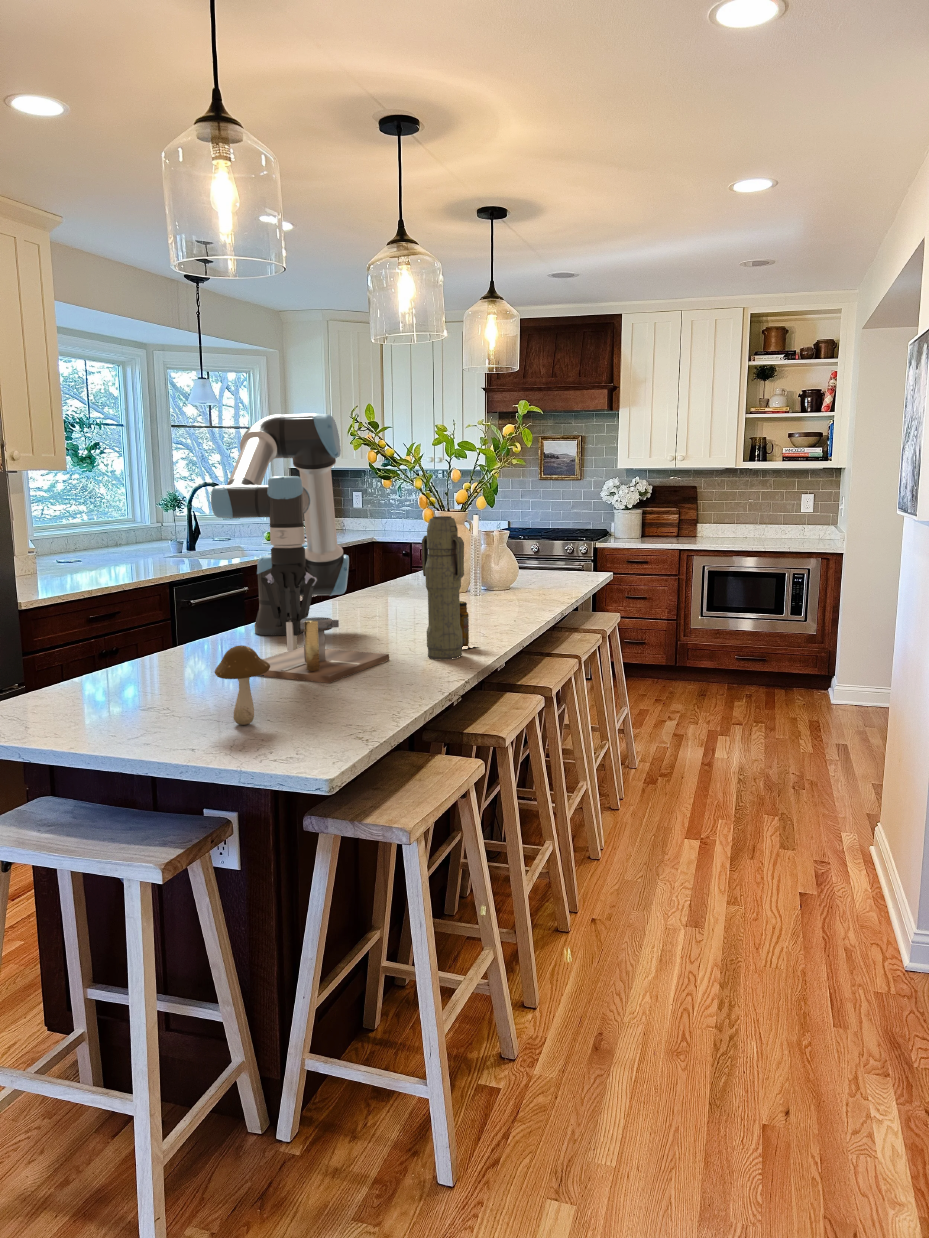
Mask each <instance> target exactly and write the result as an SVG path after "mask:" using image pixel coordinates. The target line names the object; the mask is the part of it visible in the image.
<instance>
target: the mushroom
mask: <svg viewBox="0 0 929 1238" xmlns="http://www.w3.org/2000/svg"><path fill="white" fill-rule="evenodd" d="M263 659H264V658H261V657H260V656H259V654H258V653H257V652H256V651H255V650H254V649H253V648H251V647H250V646H248V645H236V646H233V647H231V648H229V649H228V650H227V651H226V652H225V653H224V655H223V657H222V659H221V661H220V662H219V664H218V665H217V667H215V670H214V674H215V676H216V677H217V678H220V679H225V680H237V682H238V693H237V697H236V700H235V701H236V702H235V706H234V709H233V720H234V722H235V723H236V724H238V725H243V726H246V725H247V726H248V725H249V724H251V723H252V722H253V721H254V719H255V707H254V701H253V700H254V699H253V695H252V690H251V684H250V681H251V679H250V678H253V677H254V678H255V677H257V676H258V675H261V674H264V673H266V672H267V671H268V670H269V669H270V664H269V663H268V662H266V661H264V660H263Z"/></svg>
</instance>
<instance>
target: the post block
mask: <svg viewBox="0 0 929 1238" xmlns="http://www.w3.org/2000/svg"><path fill="white" fill-rule="evenodd" d="M302 633H303V636H302V637H303V646H301V647H298V648H297V649H296V650H294V651H285V652H282V653H278V654H274V655H272V656H268V657H266V658H262V659H263V660H264V661H266V662H268V663H269V664H270V669H269V670H268V671H267V672H266V673H264V674H261V675H264V676H263V677H269V678H277V679H278V678H280V679H287V680H288V679H289V680H297V681H307V682H318V683H323V684H325V683H326V684H331V683H334V682H337V681H338V680H341V679H344V678H347V677H349V676H351V675H354V674H357V673H359V672H362V671H365V670H367V669H369V668H372V667H375V666H378V665H380V664H382V663H385V662H388V661H390V654H389V653H381V652H379V653H378V652H371V651H370V652H369V651H357V650H348V649H347V650H346V649H337V648H336V649H334V648H326V640H325V639H326V638H325V631H319V632H318V640H319V662H320V669H319V670H314V671H309V670H307V669H306V648H305V632H302Z"/></svg>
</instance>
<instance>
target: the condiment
mask: <svg viewBox="0 0 929 1238" xmlns="http://www.w3.org/2000/svg"><path fill="white" fill-rule="evenodd" d="M469 616H470V615H469V612H468V603H467V602H466V601H462V600H461V601H460V626H461V629H462V644H463V646H468V645H470V637H469V634H470V633H469V631H470V630H469V629H470V627H469V626H470V625H469V624H470V623H469V621H470V620H469ZM463 646H462V647H463Z"/></svg>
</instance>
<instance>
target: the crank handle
mask: <svg viewBox="0 0 929 1238" xmlns="http://www.w3.org/2000/svg"><path fill="white" fill-rule="evenodd" d="M339 625H340V622H339V619H332V618H330V617H325V616H324V617H322V616H321V617H320V616H319V617H318V616H317V617H316V616H315V617H307V618H304V619H302V620H301V621H300V629H301V633H303V632H305V648H306V669H307V670H309V671H314V670H319V669H320V662H319V640H318V632H319V631H324V632H325V631H330V630H332V629H333V628H339V627H340V626H339Z"/></svg>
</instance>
